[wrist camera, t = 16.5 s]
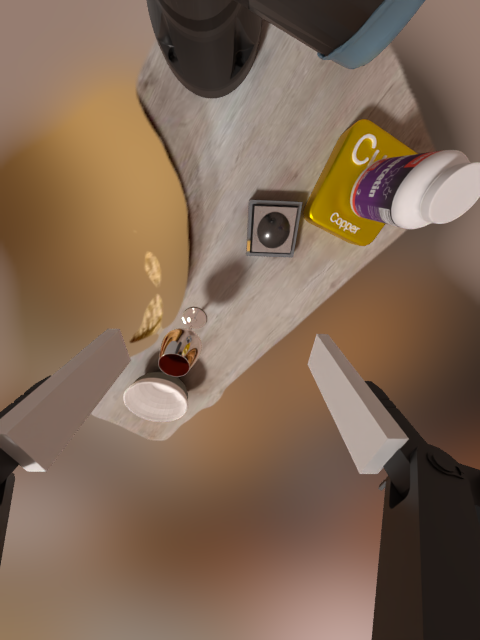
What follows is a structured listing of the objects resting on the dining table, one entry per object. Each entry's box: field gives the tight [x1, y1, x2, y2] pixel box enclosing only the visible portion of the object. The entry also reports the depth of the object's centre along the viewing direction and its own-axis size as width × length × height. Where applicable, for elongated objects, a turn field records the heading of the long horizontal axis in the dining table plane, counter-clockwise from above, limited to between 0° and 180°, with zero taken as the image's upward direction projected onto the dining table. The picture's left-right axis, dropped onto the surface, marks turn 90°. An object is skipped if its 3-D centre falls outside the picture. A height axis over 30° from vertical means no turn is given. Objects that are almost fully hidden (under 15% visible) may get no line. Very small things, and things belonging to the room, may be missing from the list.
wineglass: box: [158, 308, 207, 377], centre depth 41 cm, size 8×8×18 cm
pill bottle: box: [350, 150, 480, 229], centre depth 25 cm, size 8×8×14 cm
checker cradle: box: [246, 200, 302, 257], centre depth 37 cm, size 10×10×3 cm
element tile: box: [303, 119, 418, 246], centre depth 34 cm, size 15×15×5 cm
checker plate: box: [251, 206, 297, 253], centre depth 36 cm, size 8×8×2 cm
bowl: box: [124, 372, 188, 422], centre depth 57 cm, size 19×19×8 cm
